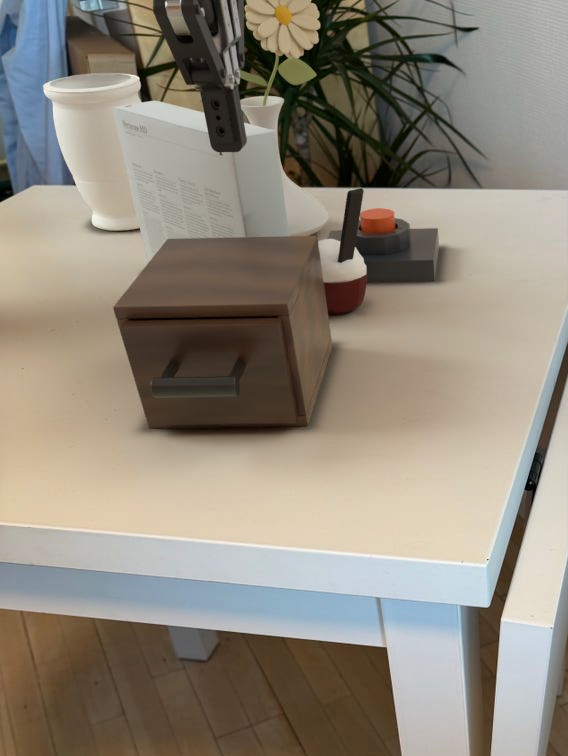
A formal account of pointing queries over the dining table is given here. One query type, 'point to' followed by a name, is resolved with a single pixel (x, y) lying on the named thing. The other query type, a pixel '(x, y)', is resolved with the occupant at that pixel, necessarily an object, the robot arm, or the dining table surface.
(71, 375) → the dining table surface
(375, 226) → the button
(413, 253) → the console
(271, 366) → the drawer
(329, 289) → the cocoa
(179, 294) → the cabinet
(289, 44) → the flower in vase
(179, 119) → the skincare box
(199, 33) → the robot arm
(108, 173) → the jar
